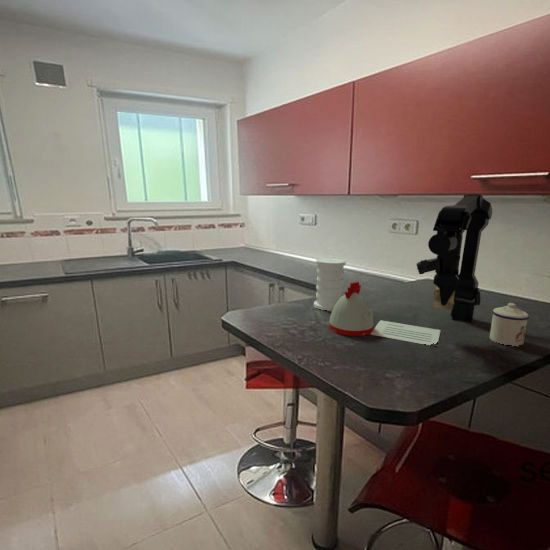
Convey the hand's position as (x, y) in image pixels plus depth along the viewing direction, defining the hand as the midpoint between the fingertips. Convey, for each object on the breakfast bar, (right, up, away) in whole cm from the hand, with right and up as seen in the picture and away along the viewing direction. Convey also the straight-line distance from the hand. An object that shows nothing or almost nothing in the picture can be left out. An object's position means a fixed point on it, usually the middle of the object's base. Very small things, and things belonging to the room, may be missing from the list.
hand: (443, 303), depth 109 cm
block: (0, -1, 0) cm, 1 cm away
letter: (-9, -10, +6) cm, 15 cm away
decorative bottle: (+26, -1, +52) cm, 58 cm away
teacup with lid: (+20, -11, +2) cm, 23 cm away
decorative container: (-30, -4, +32) cm, 44 cm away
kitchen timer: (-26, -9, +9) cm, 29 cm away
